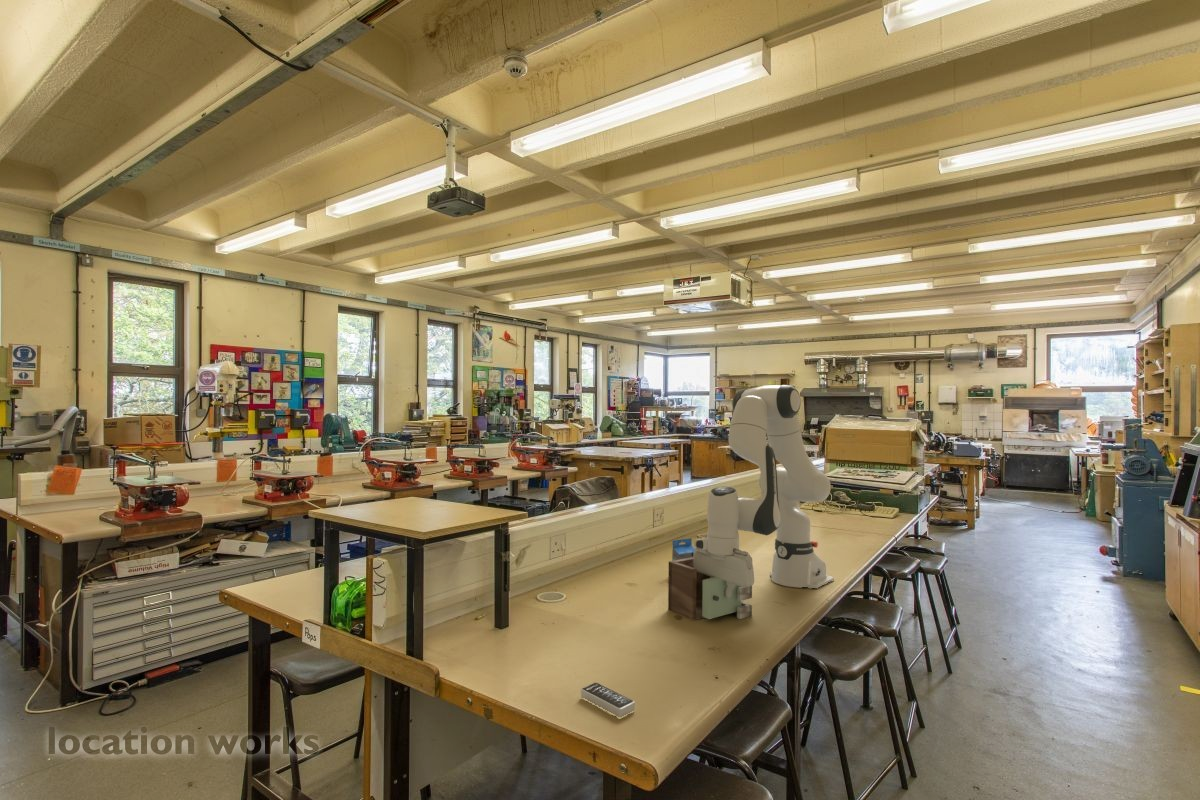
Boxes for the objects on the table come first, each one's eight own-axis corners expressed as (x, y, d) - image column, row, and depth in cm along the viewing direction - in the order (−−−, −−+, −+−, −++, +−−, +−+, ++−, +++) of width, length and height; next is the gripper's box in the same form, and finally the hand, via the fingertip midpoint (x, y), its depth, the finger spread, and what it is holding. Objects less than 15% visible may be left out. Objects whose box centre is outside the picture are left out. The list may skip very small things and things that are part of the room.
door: (734, 607, 164) (735, 573, 165) (744, 611, 161) (744, 576, 162) (702, 616, 157) (702, 579, 157) (711, 620, 154) (712, 583, 154)
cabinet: (709, 599, 175) (710, 554, 176) (751, 615, 162) (752, 566, 162) (668, 609, 166) (668, 561, 166) (709, 627, 152) (709, 575, 152)
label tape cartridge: (678, 578, 198) (678, 542, 198) (671, 575, 201) (671, 540, 202) (698, 574, 202) (698, 540, 203) (691, 572, 206) (691, 538, 206)
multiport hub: (619, 721, 106) (619, 709, 106) (580, 700, 114) (580, 688, 114) (635, 713, 109) (635, 701, 109) (595, 692, 117) (596, 681, 117)
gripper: (759, 551, 153) (759, 603, 153) (705, 537, 170) (704, 584, 170) (743, 554, 150) (743, 607, 149) (689, 540, 167) (689, 587, 166)
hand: (722, 595), depth 160 cm, fingers closed on door, 2 cm apart
